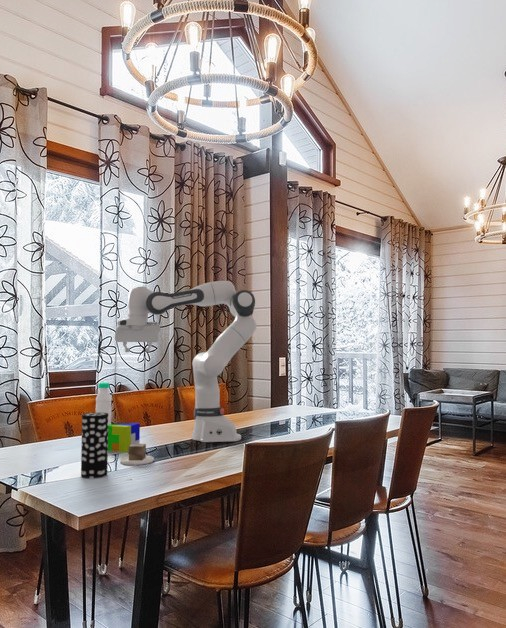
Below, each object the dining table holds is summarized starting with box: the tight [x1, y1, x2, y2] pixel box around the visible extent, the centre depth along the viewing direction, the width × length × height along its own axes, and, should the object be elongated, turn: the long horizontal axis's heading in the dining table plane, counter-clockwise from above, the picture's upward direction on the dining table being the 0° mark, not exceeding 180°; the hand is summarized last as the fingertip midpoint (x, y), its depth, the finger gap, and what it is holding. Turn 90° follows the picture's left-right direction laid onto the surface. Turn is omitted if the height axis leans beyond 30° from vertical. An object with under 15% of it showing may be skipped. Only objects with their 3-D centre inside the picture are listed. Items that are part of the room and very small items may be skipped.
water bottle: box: [95, 382, 112, 425], centre depth 239 cm, size 7×7×25 cm
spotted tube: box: [80, 412, 109, 480], centre depth 172 cm, size 8×8×20 cm
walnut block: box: [128, 443, 147, 460], centre depth 191 cm, size 5×5×5 cm
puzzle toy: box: [108, 421, 141, 453], centre depth 214 cm, size 10×10×10 cm
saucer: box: [119, 454, 155, 466], centre depth 191 cm, size 12×12×1 cm
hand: (137, 352), depth 237 cm, fingers open, 8 cm apart
